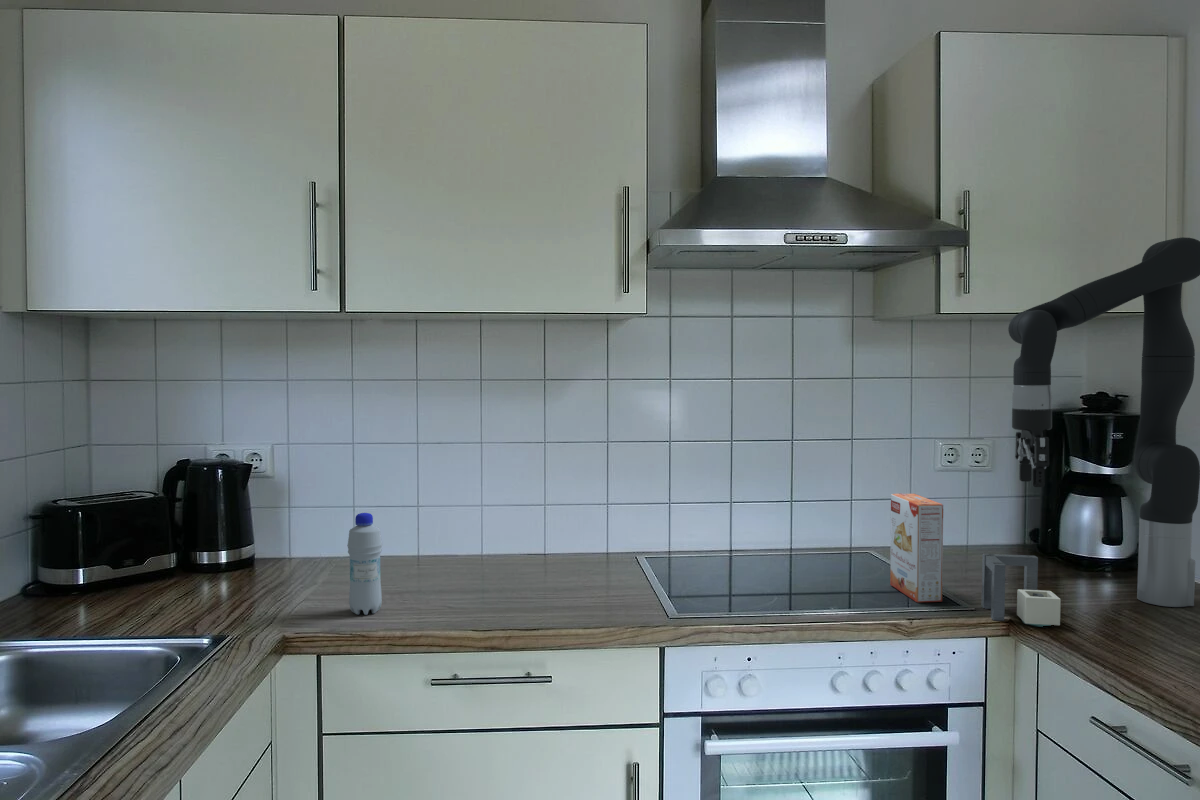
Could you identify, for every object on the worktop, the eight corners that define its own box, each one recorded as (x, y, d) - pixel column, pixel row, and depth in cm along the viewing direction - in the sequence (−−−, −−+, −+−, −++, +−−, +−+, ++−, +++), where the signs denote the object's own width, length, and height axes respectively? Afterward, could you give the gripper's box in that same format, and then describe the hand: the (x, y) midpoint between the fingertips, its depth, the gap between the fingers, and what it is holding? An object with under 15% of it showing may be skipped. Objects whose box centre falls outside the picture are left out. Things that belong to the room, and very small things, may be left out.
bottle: (348, 618, 171) (346, 516, 170) (348, 608, 177) (346, 510, 176) (383, 615, 173) (382, 514, 172) (382, 605, 179) (381, 509, 178)
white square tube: (1049, 616, 170) (1050, 590, 170) (1059, 625, 164) (1060, 599, 164) (1016, 614, 171) (1017, 589, 171) (1025, 623, 165) (1026, 597, 165)
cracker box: (888, 586, 195) (889, 493, 194) (914, 585, 196) (916, 492, 195) (915, 603, 181) (916, 503, 180) (943, 602, 182) (945, 503, 181)
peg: (1048, 619, 170) (1049, 591, 170) (1057, 627, 165) (1058, 599, 164) (1018, 617, 171) (1019, 590, 171) (1026, 626, 166) (1027, 597, 166)
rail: (1033, 608, 177) (1035, 555, 177) (1048, 623, 168) (1050, 567, 167) (981, 606, 179) (982, 553, 179) (993, 620, 170) (994, 564, 169)
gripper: (1063, 408, 174) (1062, 489, 175) (1040, 404, 188) (1039, 479, 189) (1023, 408, 176) (1022, 489, 176) (1003, 405, 190) (1002, 479, 190)
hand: (1031, 484), depth 183 cm, fingers open, 8 cm apart
